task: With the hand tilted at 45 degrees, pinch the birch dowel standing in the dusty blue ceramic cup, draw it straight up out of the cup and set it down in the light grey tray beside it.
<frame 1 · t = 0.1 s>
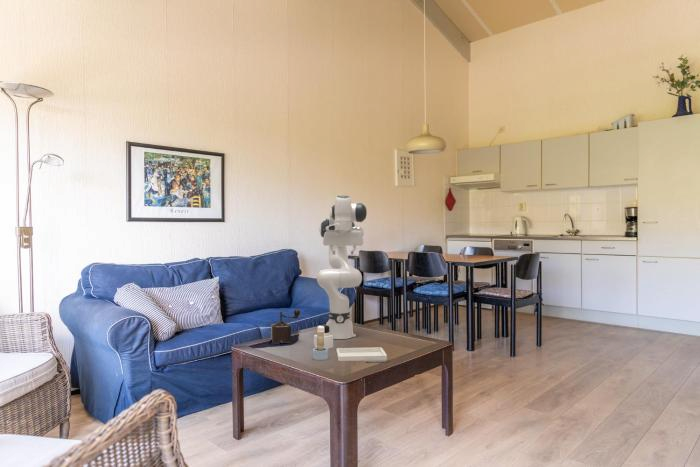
hand: (342, 254, 232), 48 cm above the table, tool pointing down, fingers open, 8 cm apart
brown coffee grinder: (285, 342, 250), on the table
dowel: (320, 358, 211), point 1 cm above the table, touching cup
medicine bottle: (323, 349, 232), on the table
cup: (320, 360, 211), on the table
tray: (360, 358, 215), on the table
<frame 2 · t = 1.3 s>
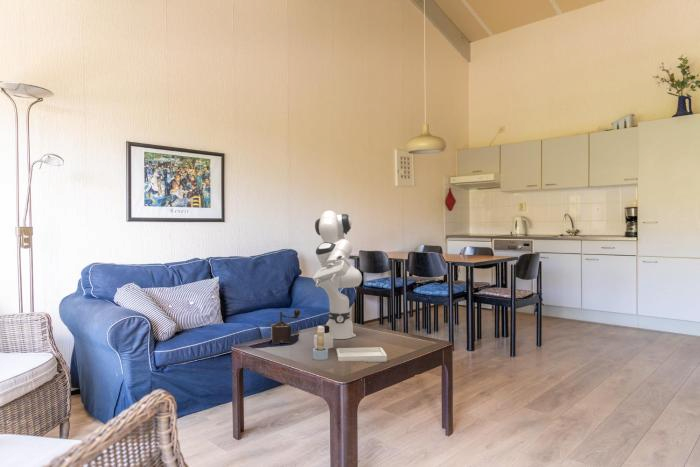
hand: (324, 284, 218), 34 cm above the table, tool tilted 50°, fingers open, 8 cm apart
nothing on the table moved.
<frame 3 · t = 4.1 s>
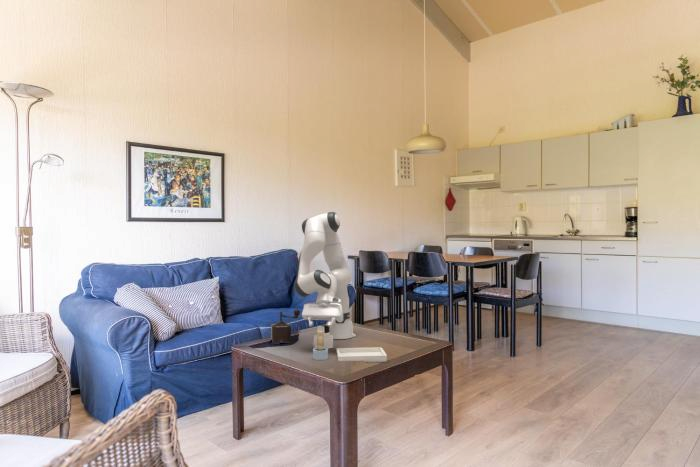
hand: (320, 326, 219), 14 cm above the table, tool tilted 45°, fingers open, 8 cm apart
nothing on the table moved.
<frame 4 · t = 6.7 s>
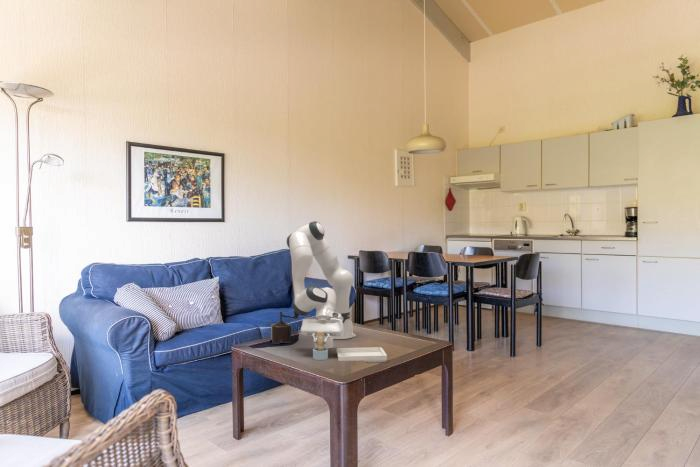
hand: (320, 342, 211), 8 cm above the table, tool tilted 45°, fingers closed on dowel, 3 cm apart
dowel: (320, 358, 211), point 1 cm above the table, touching cup, gripper
everything else where it was.
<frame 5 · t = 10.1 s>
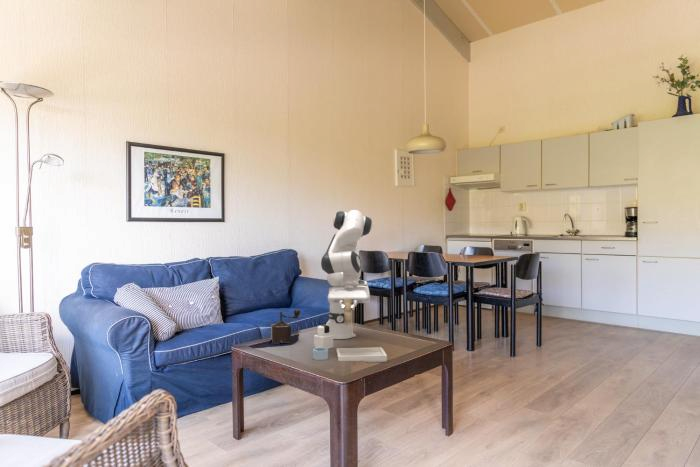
hand: (347, 309, 213), 23 cm above the table, tool tilted 45°, fingers closed on dowel, 3 cm apart
dowel: (348, 324, 214), point 16 cm above the table, touching gripper
everything else where it was.
when the fingers open (10 cm above the table, at t = 13.4 s): dowel drops 2 cm, resting on tray.
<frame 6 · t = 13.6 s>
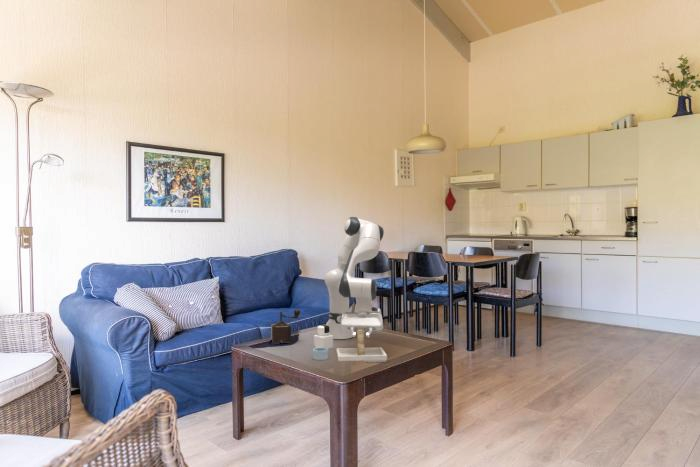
hand: (360, 336, 214), 10 cm above the table, tool tilted 45°, fingers open, 5 cm apart
dowel: (361, 356, 215), point 1 cm above the table, touching tray
everything else where it was.
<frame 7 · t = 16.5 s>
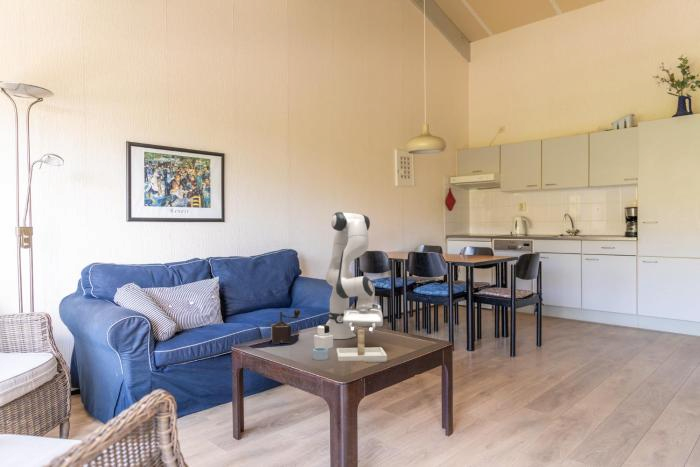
hand: (361, 331, 226), 10 cm above the table, tool tilted 45°, fingers open, 8 cm apart
nothing on the table moved.
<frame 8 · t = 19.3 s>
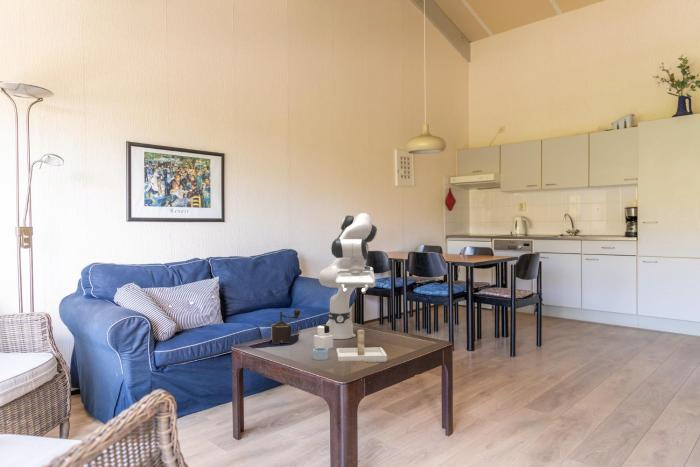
hand: (354, 292, 226), 29 cm above the table, tool tilted 45°, fingers open, 8 cm apart
nothing on the table moved.
at the end: dowel inside the target area on the tray (0.1 cm from its centre), point 1.0 cm above the tray's base; the gripper is holding nothing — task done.
